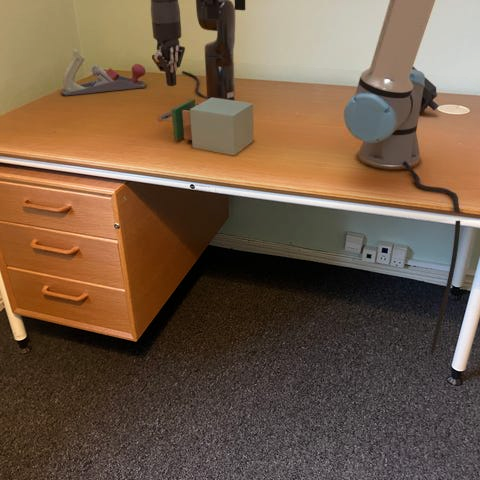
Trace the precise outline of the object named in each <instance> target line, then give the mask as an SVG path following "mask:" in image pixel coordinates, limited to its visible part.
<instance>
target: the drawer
mask: <svg viewBox="0 0 480 480" xmlns="http://www.w3.org/2000/svg"><path fill="white" fill-rule="evenodd" d="M200 103H201V102H199V101H198V102H196V99H195V98H191V99H188V100H186V101H185V102H183V103H181V104H179V105H177V106H175V107H173V108H171V109H170V110H168V111H166V112H165V113H162V114H160V115H159V116H157V117H156V120H157V122H158V123H162V122H168V123H172V129H173V140H174V141H179V140H181V139H182V138H183V139H184V140H188V141H189V140H190V141H192V132H191V118H190V109H191V108H193V107H195V106H197V105H199V104H200ZM171 118H172V119H171Z"/></svg>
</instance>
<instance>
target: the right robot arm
mask: <svg viewBox="0 0 480 480" xmlns="http://www.w3.org/2000/svg"><path fill="white" fill-rule="evenodd" d="M435 3H436V0H389V2H388V5H387V9H386V12H385V16H384V20H383V21H382V26H381V29H380V33H379V35H378V40H377V42H376V46H375V49H374V52H373V56H372V60H371V63H370V67H368V69H366V70H364V71H362V72H361V74H360V76H359V80H358V84H357V87H356V90H355V93H354V96H352V97H350V99H349V101H348V102H347V104H345V108H344V112H343V120H344V124H345V126H346V128H347V130H348V131H349V133H350V134H351V135H352V137H354V138H355V139H357V140H358V141H360V142H362V143H361V145H360V147H359V151H358V159H359V160H360V162H362V163H363V164H364V165H367V166H369V167H372V168H374V169H378V170H385V171H403V170H407V171H408V172H409V173H410V174H411V176H412V177H413V178H414V185H415V186H416V187H417V188H419V189H421V190H425V191H430V192H441V193H444V194H447V195H448V196H450V197H452V200H453V201H452V202H453V208H454V213H457V214H458V213H459V214H460V212H461V210H460V206H459V205H460V204H459V197H458V196H459V195H457V193H456V192H454V191H453V190H450V189H448V188H445V187H439V186H429V185H424V184H422V183H420V177H419V175H418V173H417V172H416V171H415V170H414V169H413V168H414V167H416V166H418V164H419V163H420V158H421V156H420V155H421V153H420V151H421V150H420V146H419V140H418V135H417V130H418V124H419V119H420V113H421V112H420V107H421V101H422V95H423V89H424V87H425V84H424V81H425V78H426V76H425V74H424V73H423V72H422V71H421V70H418V69H417V70H414V69H412V67H414V65H415V61H416V58H417V56H418V53H419V50H420V46H421V43H422V41H423V38H424V35H425V33H426V29H427V26H428V23H429V20H430V18H431V14H432V11H433V8H434V6H435ZM234 8H235V11H246V0H234ZM207 17H208V19H219V4H218V0H207ZM454 223H455V226H454V237H453V238H454V239H453V246H452V253H451V261H450V266H449V271H448V277H447V281H446V285H445V290H444V295H443V298H442V302H441V306H440V310H439V313H438V318H437V322H436V325H435V329H434V334H433V339H432V343H431V348H430V354H432V355H434V354H435V352H436V349H437V344H438V340H439V339H438V338H439V335H440V331H441V327H442V322H443V319H444V315H445V311H446V307H447V304H448V299H449V295H450V292H451V287H452V283H453V279H454V273H455V268H456V264H457V257H458V250H459V242H460V233H461V220H455V221H454Z"/></svg>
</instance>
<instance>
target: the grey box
mask: <svg viewBox="0 0 480 480" xmlns="http://www.w3.org/2000/svg"><path fill="white" fill-rule="evenodd" d="M190 118H191V132H192V140H191V143H192V144H191V145H192V149H197V150H203V151H209V152H214V153H219V154H224V155H229V156H236V155H237V154H238V153H240V152H241V151H242V150H244V149H245V148H247V147H248V146H249V145H251V144H252V143H253V142H254V103H253V102H247V101H239V100H235V101H233V100H226V99H219V98H212V97H211V98H210V99H208V100H207V99H205V100H204V101H202V102H200V104H199V105H197V104H196V105H195V107H193V108H191V109H190Z"/></svg>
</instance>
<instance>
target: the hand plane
mask: <svg viewBox="0 0 480 480" xmlns="http://www.w3.org/2000/svg"><path fill="white" fill-rule="evenodd" d="M85 59H86V58H85V56H84V55H83V54H82V53H81V52H80V51H79V50H77V49H76V48H73V50H72V58H71V62H70V63H69V65H68V67H67V68H66V70H65V72H64V74H63V80H62V84H63V88H62V90H61V93H62V95H63V96H74V95H84V94H94V93H104V92H112V91H113V92H114V91H121V90H132V89H142V88H146V83H145V81H143V80H139V78H142V77H144V76H145V75H146V68H145V66H143V65H141V64H139V63H134V64H133V65H132V66H131V73H132V76H131V78H130V77H126V76H123V75H120V74H119V73H117V72H116V71H114V70H113V69H112V68H111V67H109V68H108V70H107V71H105V70H104V69H103V68H102V67H100V65H94V66H92V68H91V70H90V72H91V75H93V76H94V77H97V78H95V79H90V81H89V82H86V83H80V84H78V83H77V82H76V81H75V78H76V74H77V72H78V71H79V69H80V68H81V66H82V65H83V63H84V61H85Z"/></svg>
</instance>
